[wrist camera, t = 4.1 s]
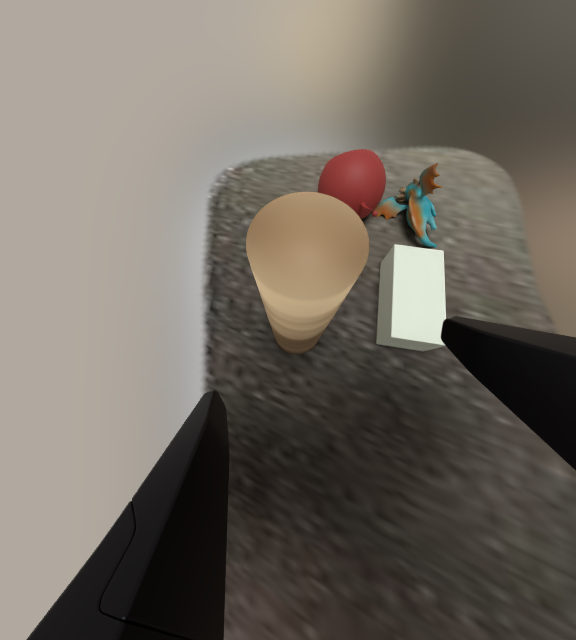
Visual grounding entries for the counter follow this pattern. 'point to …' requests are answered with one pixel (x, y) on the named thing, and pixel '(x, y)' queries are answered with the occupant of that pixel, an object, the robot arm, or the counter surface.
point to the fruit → (355, 180)
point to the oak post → (305, 263)
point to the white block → (411, 298)
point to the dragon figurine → (415, 204)
